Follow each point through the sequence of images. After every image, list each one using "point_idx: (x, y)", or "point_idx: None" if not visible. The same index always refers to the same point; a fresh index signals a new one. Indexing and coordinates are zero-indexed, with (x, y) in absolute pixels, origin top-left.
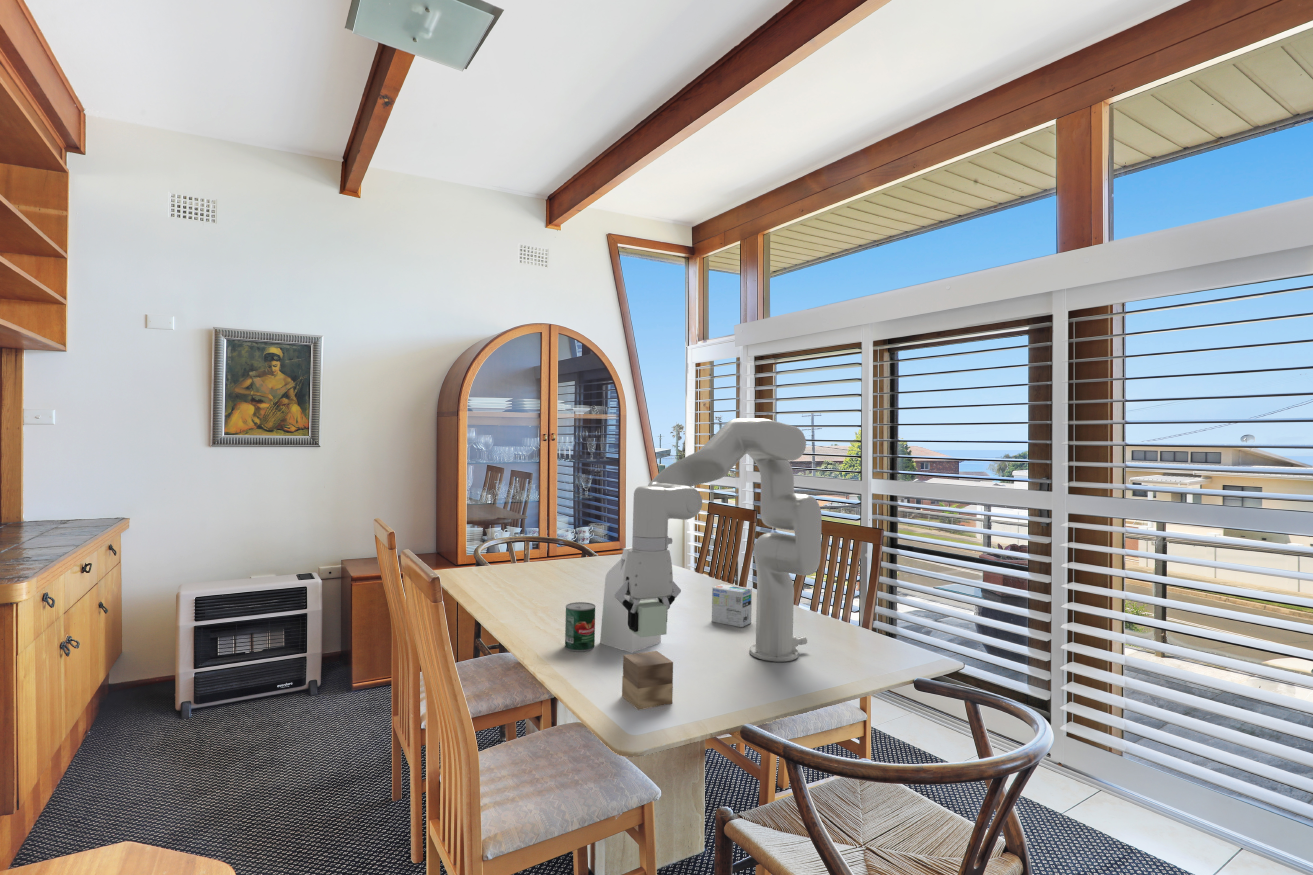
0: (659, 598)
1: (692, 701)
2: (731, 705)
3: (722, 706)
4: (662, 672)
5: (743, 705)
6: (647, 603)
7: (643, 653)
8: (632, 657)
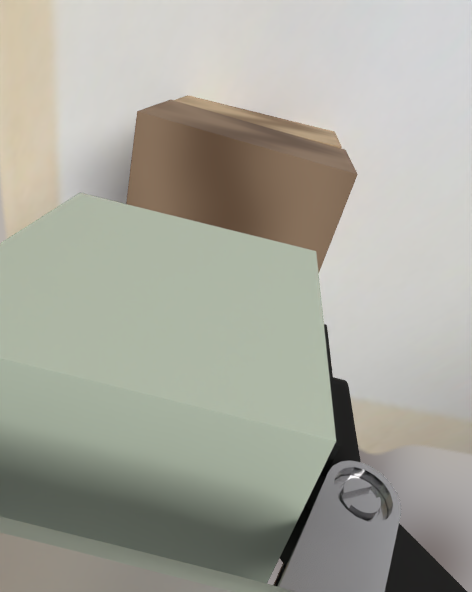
0: (304, 586)
1: (356, 294)
2: (420, 380)
3: (393, 369)
4: None
5: (445, 399)
6: (98, 505)
7: (256, 164)
8: (161, 179)
